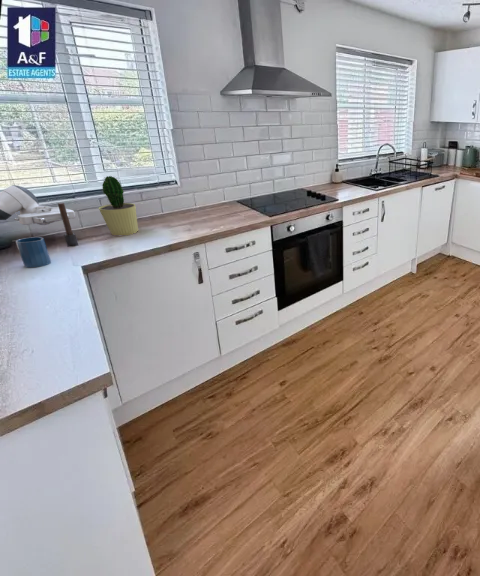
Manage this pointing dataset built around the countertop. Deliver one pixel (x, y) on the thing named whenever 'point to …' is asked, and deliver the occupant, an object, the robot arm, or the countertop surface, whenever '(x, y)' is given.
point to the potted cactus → (118, 209)
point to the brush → (67, 227)
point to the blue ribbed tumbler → (33, 251)
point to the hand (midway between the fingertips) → (56, 219)
